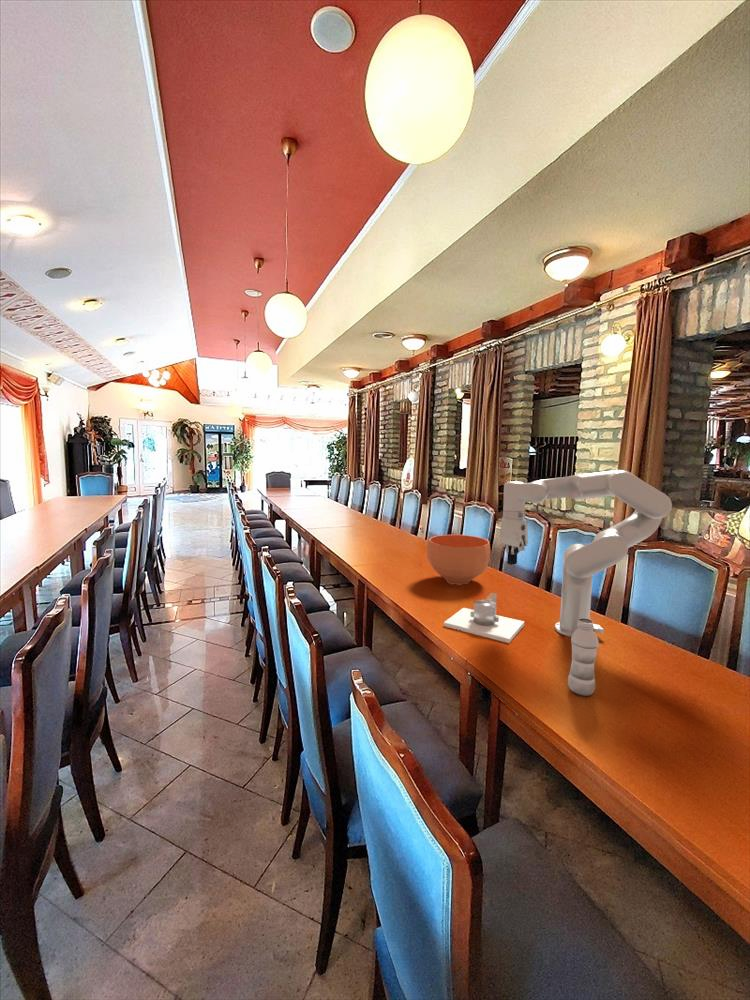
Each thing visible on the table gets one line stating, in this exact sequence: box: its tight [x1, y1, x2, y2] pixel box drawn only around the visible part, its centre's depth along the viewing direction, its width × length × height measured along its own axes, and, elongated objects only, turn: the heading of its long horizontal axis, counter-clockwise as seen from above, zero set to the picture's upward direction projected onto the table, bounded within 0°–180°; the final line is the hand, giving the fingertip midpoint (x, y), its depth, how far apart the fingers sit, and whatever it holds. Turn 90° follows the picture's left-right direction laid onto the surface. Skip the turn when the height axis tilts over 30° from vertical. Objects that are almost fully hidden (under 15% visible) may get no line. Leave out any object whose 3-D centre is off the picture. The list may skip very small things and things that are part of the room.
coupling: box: [470, 592, 500, 626], centre depth 162 cm, size 17×10×7 cm, turn 151°
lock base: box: [443, 607, 525, 644], centre depth 158 cm, size 24×18×2 cm
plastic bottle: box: [567, 618, 599, 696], centre depth 114 cm, size 6×7×20 cm
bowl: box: [426, 534, 492, 586], centre depth 210 cm, size 30×30×20 cm
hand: (512, 563), depth 160 cm, fingers closed
